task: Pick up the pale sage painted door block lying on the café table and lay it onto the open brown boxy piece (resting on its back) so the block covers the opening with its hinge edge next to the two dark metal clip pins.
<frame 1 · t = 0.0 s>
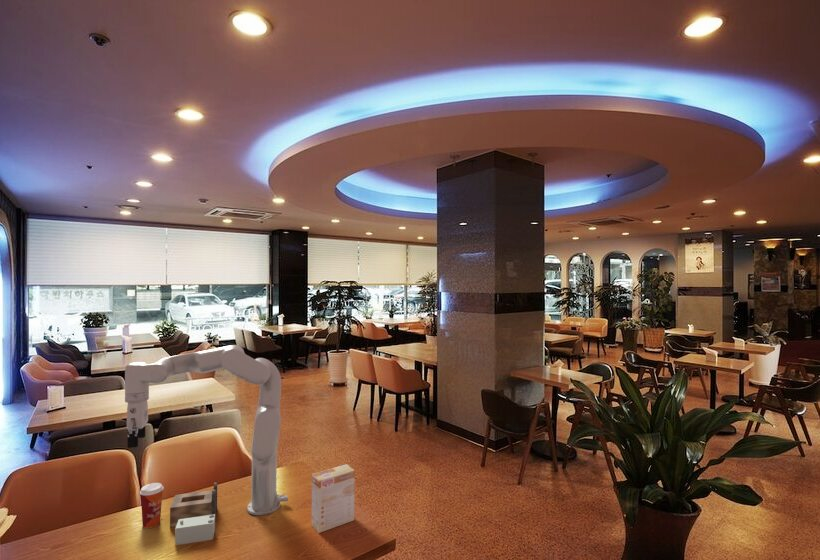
hand: (136, 442, 162), 31 cm above the table, fingers open, 9 cm apart
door: (195, 537, 155), on the table
brown boxy piece: (192, 516, 169), on the table
coffeecake box: (333, 523, 166), on the table
paper cup: (151, 524, 163), on the table
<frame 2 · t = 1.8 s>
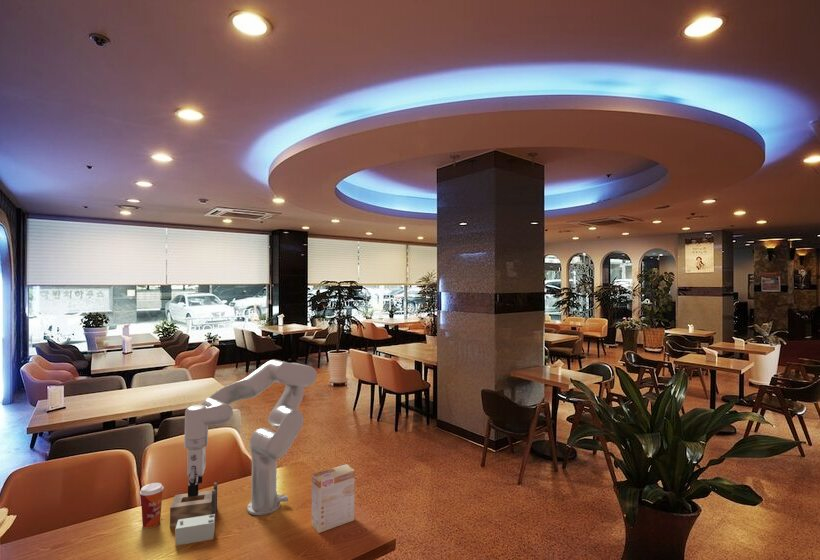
hand: (195, 489, 155), 17 cm above the table, fingers open, 9 cm apart
nothing on the table moved.
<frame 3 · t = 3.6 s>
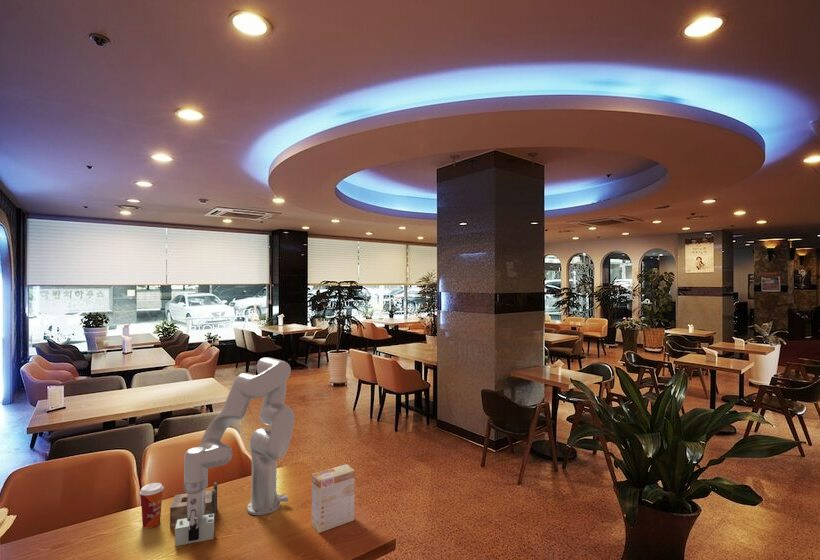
hand: (195, 533, 155), 1 cm above the table, fingers closed on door, 6 cm apart
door: (195, 537, 155), on the table, touching gripper
everything else where it was.
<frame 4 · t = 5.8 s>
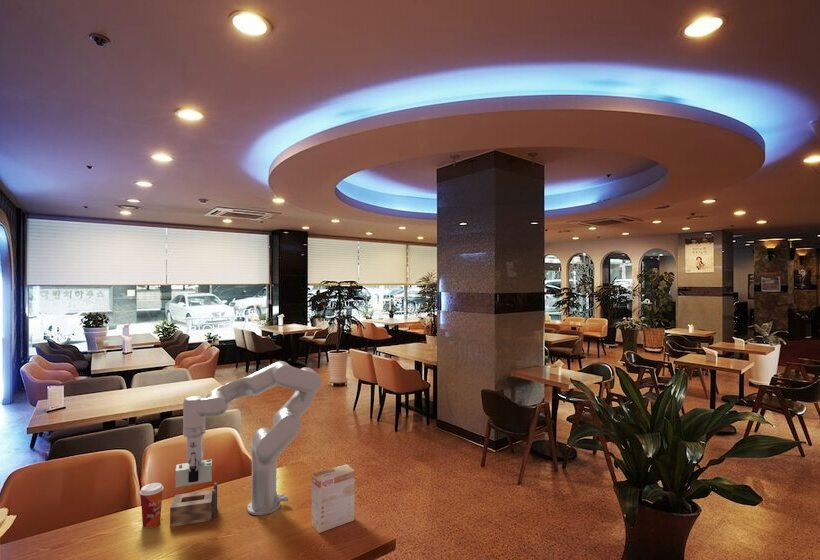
hand: (194, 477, 164), 17 cm above the table, fingers closed on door, 6 cm apart
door: (194, 480, 164), point 16 cm above the table, touching gripper
everything else where it was.
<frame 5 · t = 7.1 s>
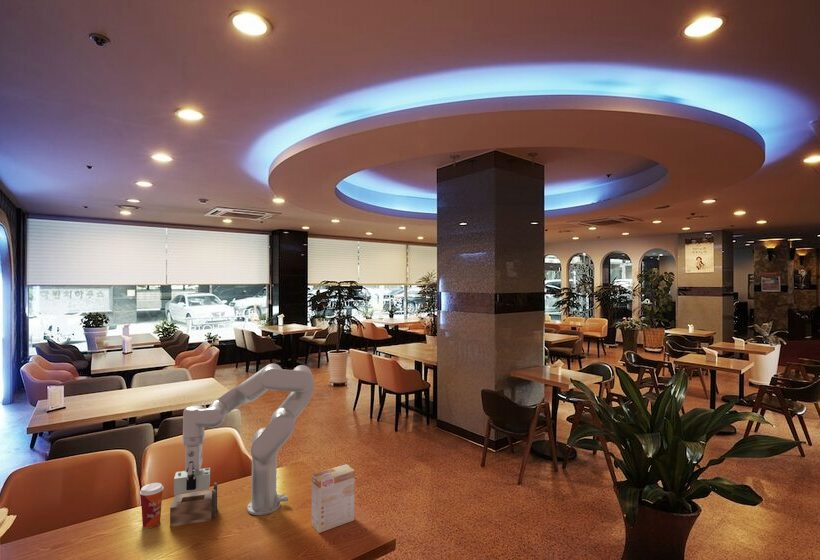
hand: (192, 485, 169), 12 cm above the table, fingers closed on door, 6 cm apart
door: (192, 488, 168), point 11 cm above the table, touching gripper
everything else where it was.
when the fingers open (10 cm above the table, at t = 8.0 s): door drops 1 cm, resting on brown boxy piece.
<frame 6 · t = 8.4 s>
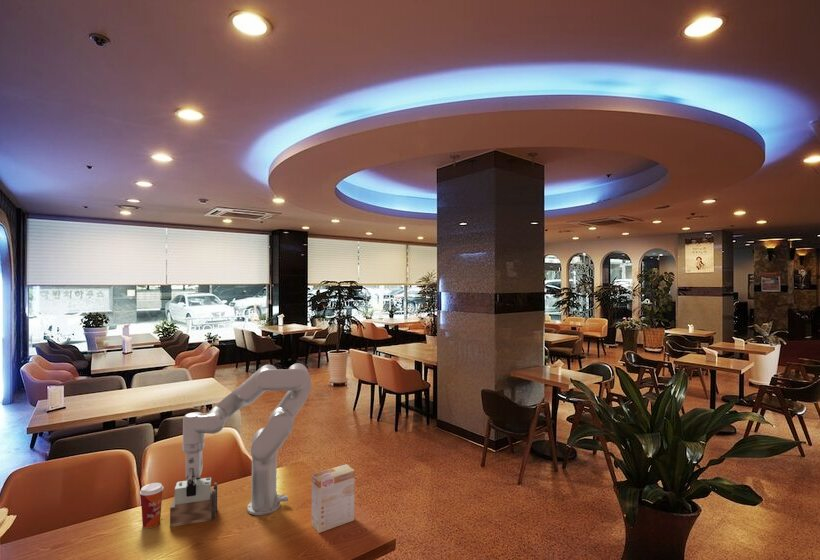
hand: (193, 489, 169), 10 cm above the table, fingers open, 9 cm apart
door: (193, 498, 169), point 7 cm above the table, touching brown boxy piece
everything else where it was.
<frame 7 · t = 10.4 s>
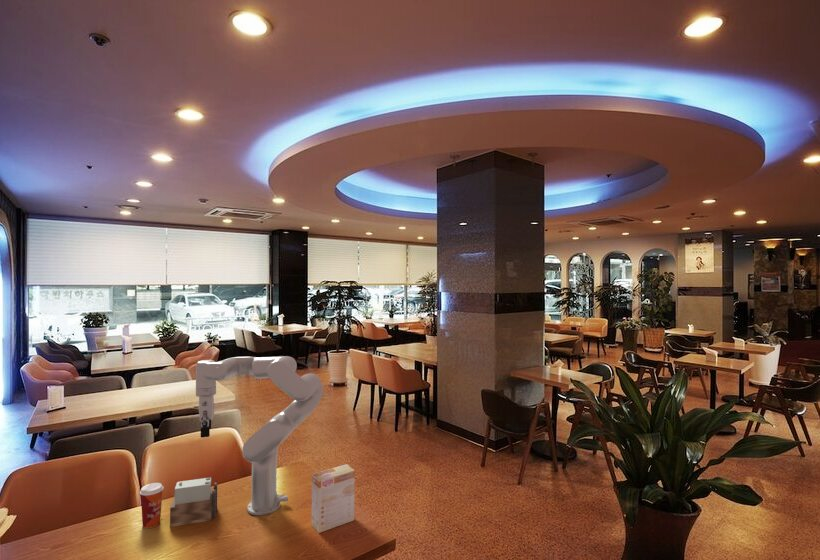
hand: (206, 432, 178), 29 cm above the table, fingers open, 9 cm apart
nothing on the table moved.
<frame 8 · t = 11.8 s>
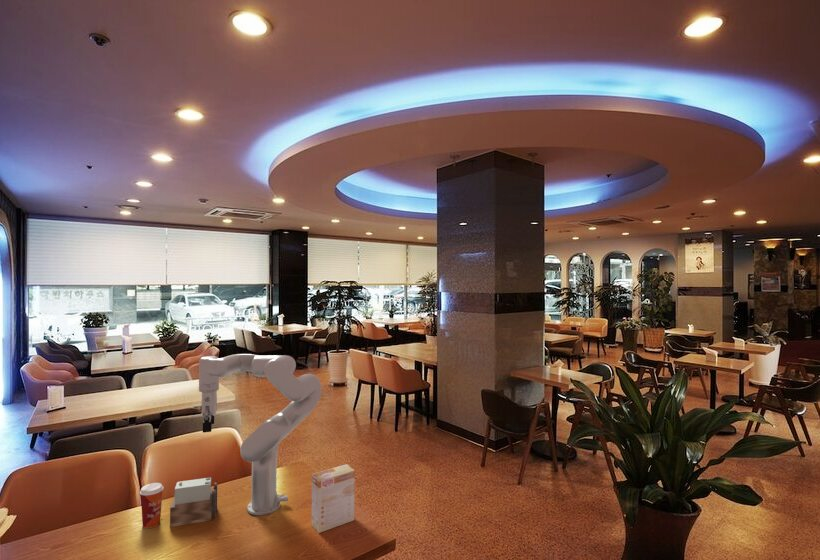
hand: (208, 427, 180), 30 cm above the table, fingers open, 9 cm apart
nothing on the table moved.
at the end: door 0.1 cm off-centre on the brown boxy piece, point 7.0 cm above the brown boxy piece's base; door tilted 0°; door touching brown boxy piece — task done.
